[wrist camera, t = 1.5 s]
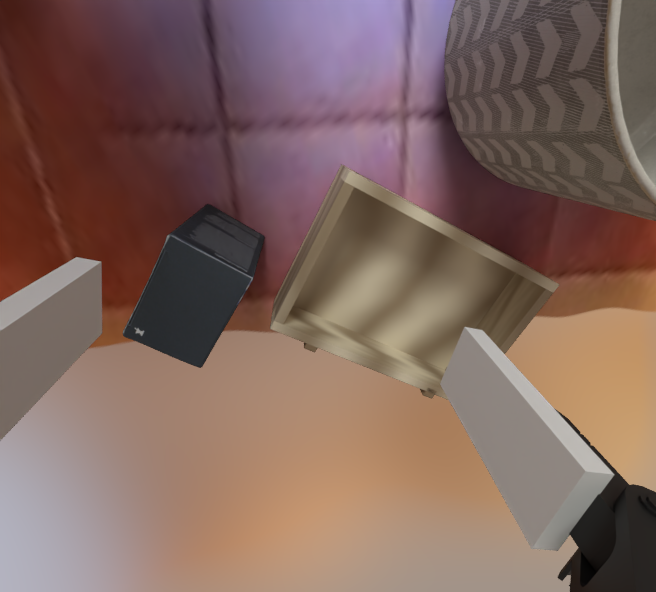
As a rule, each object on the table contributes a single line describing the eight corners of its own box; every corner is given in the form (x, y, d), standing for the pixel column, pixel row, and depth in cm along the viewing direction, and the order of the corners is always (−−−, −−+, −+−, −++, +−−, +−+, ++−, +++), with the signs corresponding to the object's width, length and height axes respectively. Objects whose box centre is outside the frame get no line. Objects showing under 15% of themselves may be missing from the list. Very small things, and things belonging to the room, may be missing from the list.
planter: (683, -165, 24) (1552, -832, 7) (672, 137, 32) (1083, 144, 15) (401, -45, 25) (596, -375, 9) (456, 216, 33) (615, 302, 16)
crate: (271, 304, 35) (267, 333, 30) (341, 164, 30) (349, 170, 25) (440, 374, 40) (460, 409, 35) (522, 262, 35) (559, 284, 30)
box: (227, 305, 35) (200, 371, 25) (169, 276, 33) (117, 335, 24) (267, 235, 32) (254, 279, 23) (207, 200, 31) (166, 232, 21)
